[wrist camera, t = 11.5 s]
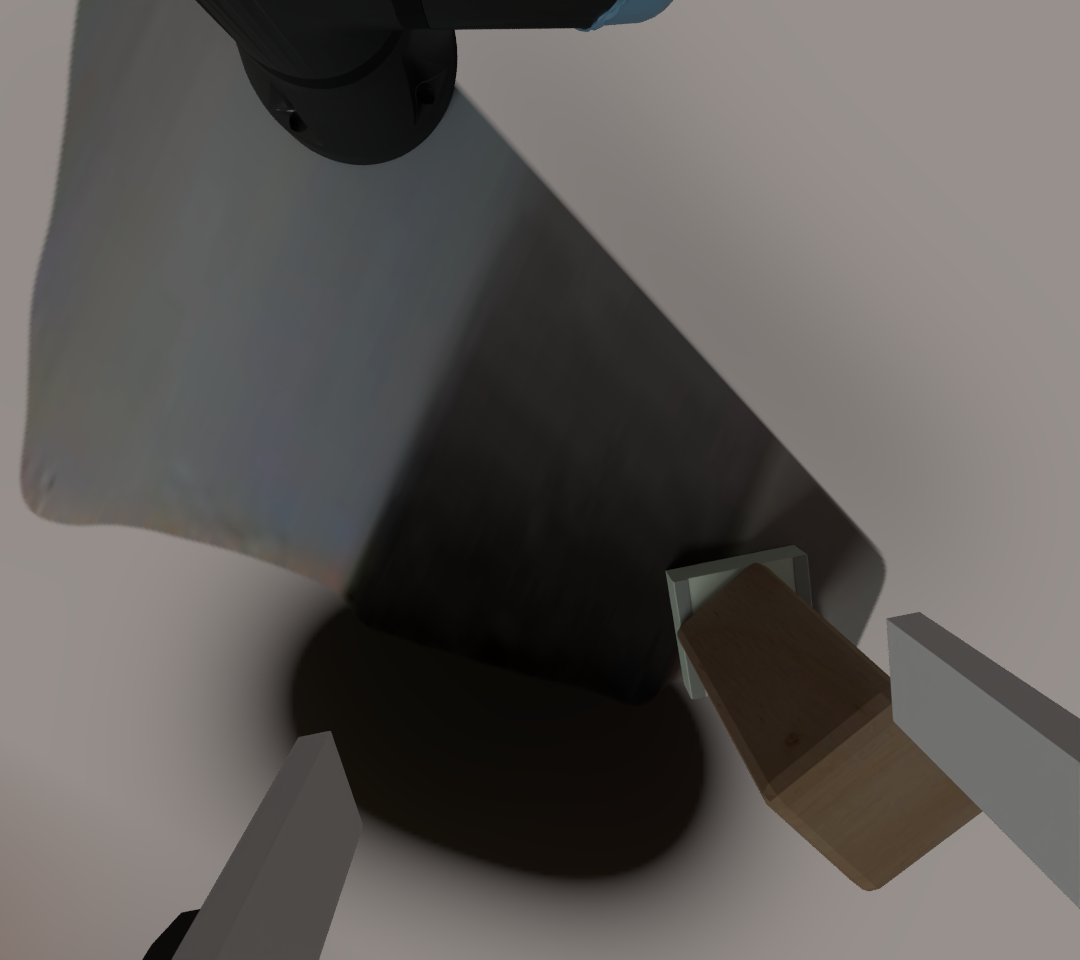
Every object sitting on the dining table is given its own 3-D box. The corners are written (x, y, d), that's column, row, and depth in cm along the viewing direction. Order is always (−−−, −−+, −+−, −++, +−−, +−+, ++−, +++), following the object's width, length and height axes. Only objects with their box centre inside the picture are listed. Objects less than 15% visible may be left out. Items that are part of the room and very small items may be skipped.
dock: (665, 570, 52) (673, 582, 49) (793, 544, 52) (807, 554, 49) (684, 683, 55) (691, 699, 52) (805, 659, 54) (819, 674, 52)
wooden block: (669, 629, 50) (762, 808, 31) (753, 554, 49) (907, 691, 29) (741, 697, 52) (871, 906, 33) (824, 626, 51) (1013, 800, 31)
